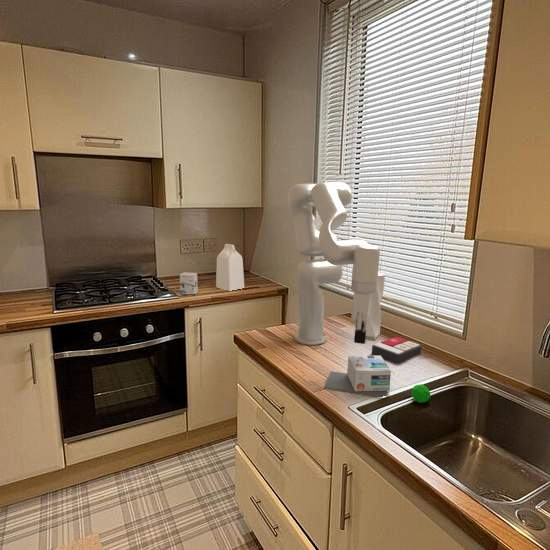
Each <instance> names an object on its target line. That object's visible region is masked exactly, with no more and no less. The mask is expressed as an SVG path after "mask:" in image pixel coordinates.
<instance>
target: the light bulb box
mask: <svg viewBox="0 0 550 550" xmlns="http://www.w3.org/2000/svg"><path fill="white" fill-rule="evenodd" d="M346 368H347V369H346V371H347V372H346V373H347V375H348V377H349V379H350V382H351V384H352V386H353V388H354V390H355V391H387V392H390V390H391V373H392V369H390V367H389V365H388V364H387V362H386V361H385V359H383V358H382V357H381V356H375V355H348V357H347V367H346Z"/></svg>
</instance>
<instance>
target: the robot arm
mask: <svg viewBox="0 0 550 550" xmlns="http://www.w3.org/2000/svg"><path fill="white" fill-rule="evenodd" d="M352 194H353V193H352V190H351V188H350V186H349V185H348V184H346V183H345V182H328V181H327V182H319V183H297V184H294V185H293V186H291V187H290V188H289V191H288V193H287V205H288V206H287V207H288V210H289V213H290V214H291V215H290V216H291V217H292V221H293V225H294V231H295V233H294V234H295V238H296V245H297V246H296V247H297V250H298V253H299V255H300V256H302V257H304V258H305V257H308V258H310V257H311V258H313V257H323V258H321V259H320V258H318V259H307V260H304V261H302V262H300V263H299V264H298V266H297V268H296V275H297V281H298V332H297V333H295V334H294V337H293V338H294V341H296V342H297V343H300V344H302V345H308V346H316V345H317V346H319V345H321V344H325V343H326V342H327V340H328V338H327V335H326V334H324V309H325V306H324V305H325V296H324V292H323V291H322V289H320V285H328V284H334V283H335V284H336V283H338V282H340V281H341V279H342V276H343V266H347V265H352V271H351V284H350V290H351V292H353V297H352V304H351V315H350V324H351V325H353V324H355V329H354V339H353V342H354V343H356V344H360V345H362V344H363V345H364V344H366V343H365V342H366V339H365V337H366V330H365V329H366V325H367V322H368V319H369V315H370V310H371V302H372V294H373V293H376V292H377V280H378V269H379V267H380V266H379V265H380V255H381V250H380V248H379V246H377V245H374V244H370V243H368V242H366V241H365V240H362V239H352V240H350V239H349V240H347V239H346V240H338V237H337V236H336V234H335V233H334V232H333V231H334V230H336V229H338V228H340V227H341V226H342V225H343V224H345V222H346V221H347V219H348V212H347V210H346V209H345V207H347V206H348V205H350V203H351V202H352V198H353V195H352ZM308 207H313V208H315V209H316V211H317V212H316V213H317V214H318V216H319V218H320V220H321V222H322V223H321V226H320V228H319V229H318V224H317V219H316V216H314V214H313V212H312V211H311V210H309V208H308Z"/></svg>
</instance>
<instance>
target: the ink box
mask: <svg viewBox="0 0 550 550" xmlns="http://www.w3.org/2000/svg"><path fill="white" fill-rule="evenodd" d="M198 288H199V287H198V273H197V272H185V271H184V272H182V273H180V274H179V291H180V292H179V293H187V294H196V293H197V292H198V291H199V290H198ZM196 295H197V294H196Z"/></svg>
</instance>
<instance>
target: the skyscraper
mask: <svg viewBox="0 0 550 550" xmlns="http://www.w3.org/2000/svg"><path fill="white" fill-rule="evenodd" d="M380 270H381V267H380V266H379V269H378V280H377V292H376V293H373V294H372V302H371V310H370V315H369V319H368V322H367V325H366V329H365V330H366V337H365V340H369V341H376V340H377V339H378V337H380V335H381V323H382V322H381V303H382V299H383V295H384V288H385V280H386V273H384V272H380Z"/></svg>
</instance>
